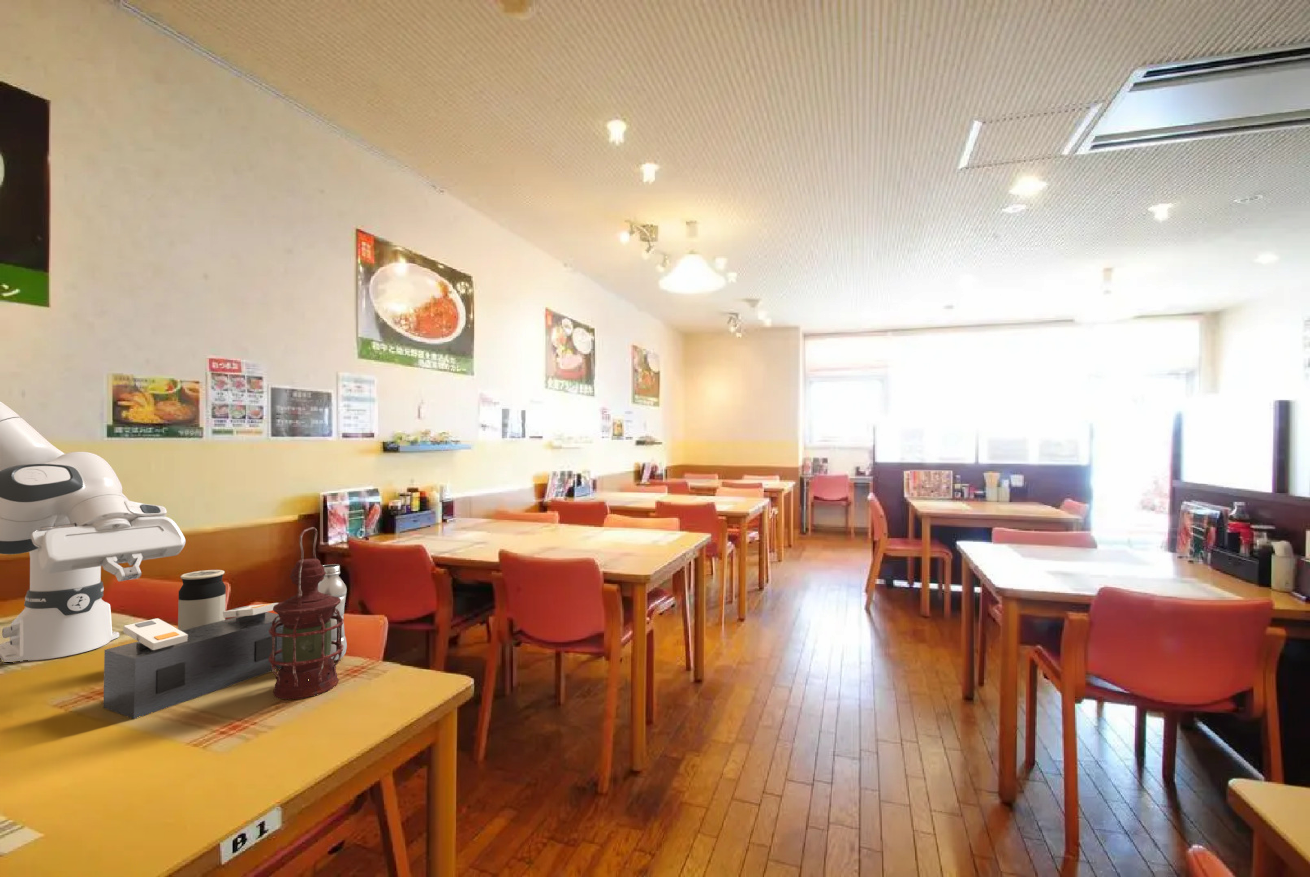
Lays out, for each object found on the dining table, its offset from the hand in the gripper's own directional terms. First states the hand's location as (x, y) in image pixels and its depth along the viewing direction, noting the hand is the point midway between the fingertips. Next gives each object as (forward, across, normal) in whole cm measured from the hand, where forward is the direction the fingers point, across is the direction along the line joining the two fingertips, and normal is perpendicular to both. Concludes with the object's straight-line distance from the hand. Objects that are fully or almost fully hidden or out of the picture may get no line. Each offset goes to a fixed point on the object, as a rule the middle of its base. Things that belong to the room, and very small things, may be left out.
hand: (130, 577), depth 104 cm
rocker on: (+12, 0, +1) cm, 12 cm away
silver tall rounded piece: (+28, +27, +3) cm, 38 cm away
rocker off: (+12, +16, +1) cm, 20 cm away
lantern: (+34, +16, -4) cm, 38 cm away
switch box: (+20, +8, +10) cm, 24 cm away
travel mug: (+9, +16, +22) cm, 28 cm away
